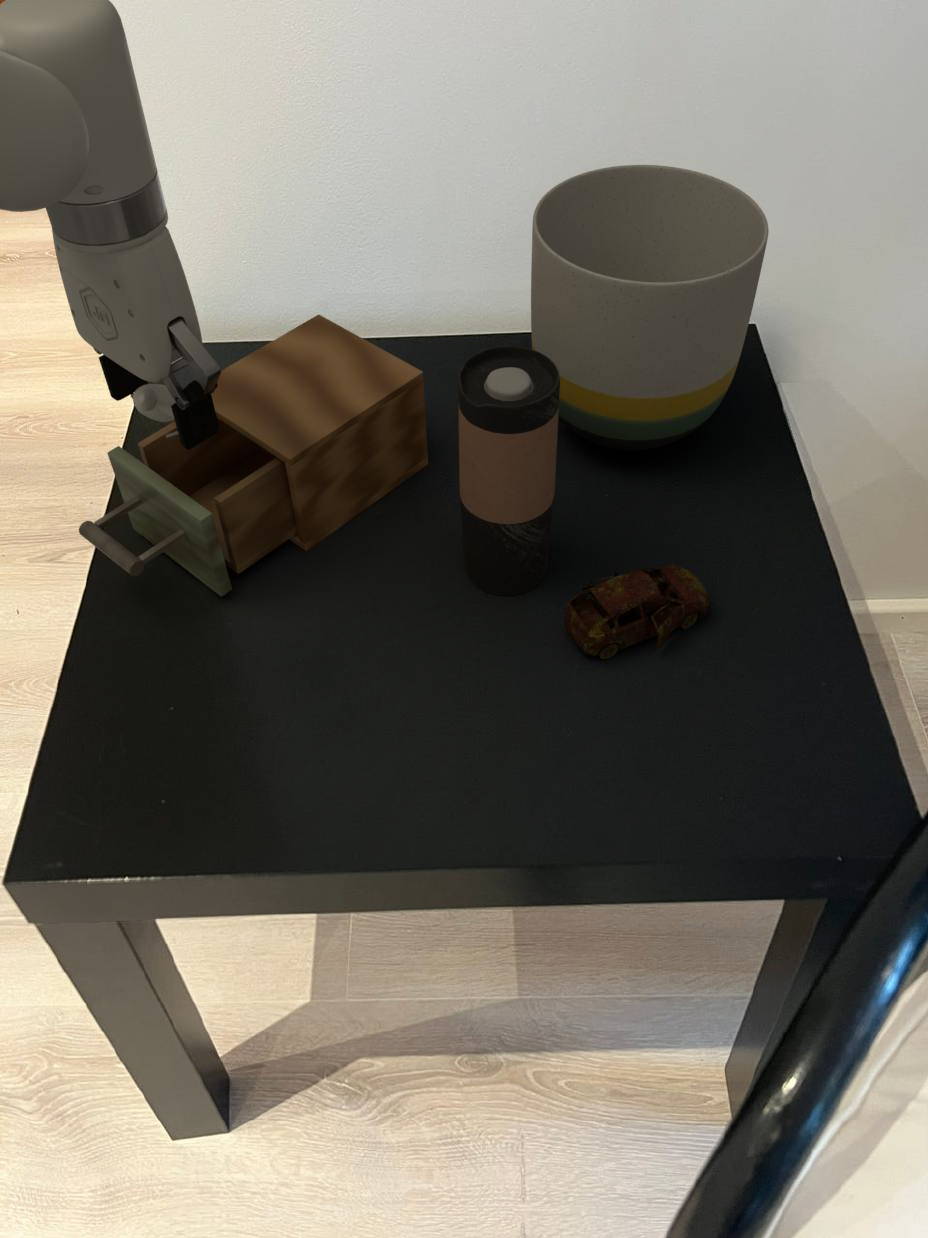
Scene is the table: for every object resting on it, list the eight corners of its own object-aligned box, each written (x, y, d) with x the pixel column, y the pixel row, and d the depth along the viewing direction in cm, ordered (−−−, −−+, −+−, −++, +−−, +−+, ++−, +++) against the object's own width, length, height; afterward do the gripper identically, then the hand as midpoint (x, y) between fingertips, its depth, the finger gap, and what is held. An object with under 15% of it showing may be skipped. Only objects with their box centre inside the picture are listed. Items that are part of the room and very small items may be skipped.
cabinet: (306, 551, 96) (289, 459, 88) (209, 483, 102) (185, 391, 94) (428, 464, 103) (423, 371, 95) (331, 405, 109) (318, 313, 101)
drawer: (166, 635, 88) (140, 560, 82) (78, 563, 94) (47, 487, 87) (347, 508, 98) (336, 431, 91) (257, 449, 104) (241, 372, 97)
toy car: (594, 681, 86) (599, 641, 82) (553, 620, 90) (556, 580, 86) (723, 631, 89) (733, 590, 85) (678, 575, 93) (685, 534, 89)
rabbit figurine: (190, 392, 89) (222, 399, 83) (180, 439, 90) (210, 450, 83) (118, 373, 86) (145, 378, 79) (107, 421, 86) (133, 431, 80)
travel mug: (552, 537, 96) (563, 346, 81) (547, 601, 91) (559, 410, 76) (466, 532, 97) (462, 342, 82) (457, 595, 92) (451, 405, 77)
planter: (509, 374, 112) (512, 174, 96) (692, 354, 114) (725, 154, 98) (548, 501, 99) (560, 295, 83) (754, 476, 101) (804, 270, 85)
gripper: (-16, 182, 74) (60, 392, 87) (138, 273, 66) (196, 489, 79) (78, 143, 77) (137, 350, 90) (234, 225, 69) (275, 439, 82)
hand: (164, 414), depth 85 cm, fingers closed on rabbit figurine, 8 cm apart
